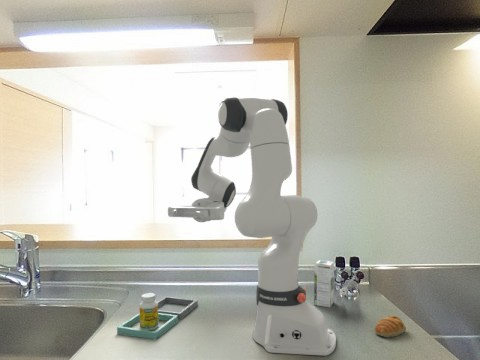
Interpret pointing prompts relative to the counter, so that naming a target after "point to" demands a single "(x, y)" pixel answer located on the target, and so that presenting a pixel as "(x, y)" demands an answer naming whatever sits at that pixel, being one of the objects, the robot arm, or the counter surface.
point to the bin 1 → (145, 333)
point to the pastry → (390, 326)
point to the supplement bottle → (148, 312)
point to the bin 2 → (189, 302)
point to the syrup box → (324, 283)
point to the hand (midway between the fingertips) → (185, 214)
